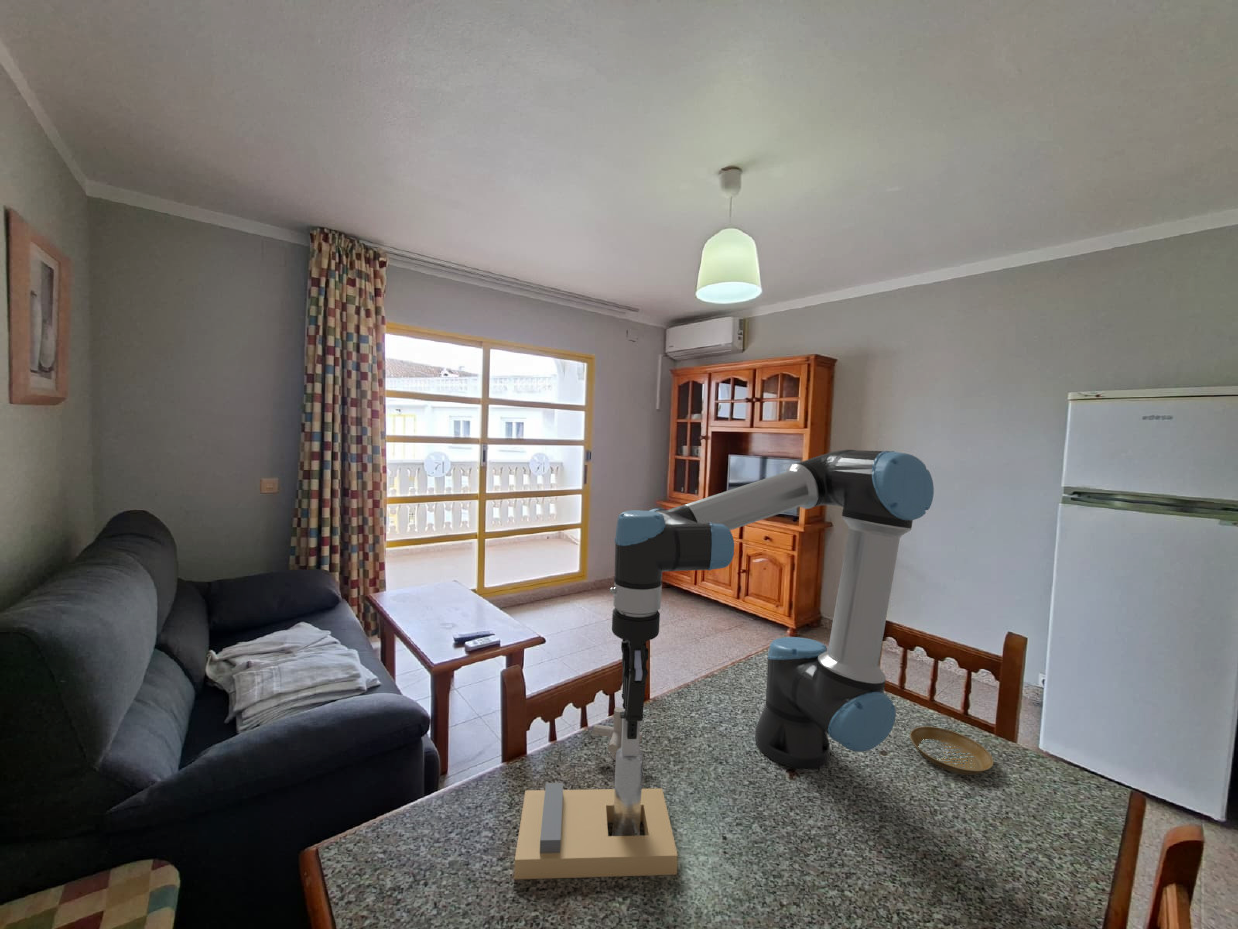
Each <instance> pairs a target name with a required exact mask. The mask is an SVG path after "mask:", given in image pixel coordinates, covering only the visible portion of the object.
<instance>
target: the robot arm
mask: <svg viewBox="0 0 1238 929" xmlns="http://www.w3.org/2000/svg"><path fill="white" fill-rule="evenodd" d="M934 492H935V488H934V481H933V478H932V474H931V472H930V470H928V469H927V466H926V464H925V463H924V462H923V461H922V460H921V459H920V458H918V457H917V456H915V455H913V454H909V453H905V452H899V451H894V450H891V451H889V450H862V449H861V450H860V449H859V450H856V449H842V450H837V451H836V450H835V451H831V452H828V453H825V454H822V455H818V456H815V457H811V458H808V459H806V460H802V461H800V462H797V463H792V464H791V465H790V466H788V467H787V470H786V471H785V472H781V473H778V474H776V475H773V476H769V477H766V478H764V479H760V480H758V481H754V482H751V483H748V484H744V485H741V486H738V487H736V488H731V489H729V490H726V491H723V492H721V493H717V494H716V493H715V494H713V495H710V496H707V497H705V498H701V499H698V500H695V501H691V502H690V503H687V504H683V505H680V506H676V507H672V508H669V509H666V508H652V509H650V510H641V509H639V510H635V509H634V510H633V509H632V510H626V511H623V512H621V513H620V514H619V515H618V517H617V521H616V529H615V538H614V579H613V580H614V583H613V586H614V587H610V589H609V594H611V595H613V599H612V600H613V603H612V605H613V607H614V608H613V609H612V617H611V632H612V633H613V635H614V636H616V637H617V638H619V639H620V640H622V641H621V643H620V645H621V646H620V647H621V648H620V649H621V654H622V655H621V656H622V659H621V664H622V665H621V666H622V692H621V699H622V700H623V703H622V707H623V712H620V719H622V740H621V753H622V756H639V749H640V742H639V738H640V732H641V722H642V721H643V719H644V707H645V706H644V703H645V694H646V684H647V683H646V682H647V678H648V675H649V671H648V668H647V663H648V662H647V661H649V648H648V647H647V642H648V641H651V640H654V639H655V638H657V637H658V635H659V632H660V623H661V622H660V620H661V619H660V618H661V617H660V616H661V613H660V611H659V610H660V609H661V604H662V587H663V586H662V584H663V583H662V582H663V580H662V579H663V572H679V571H680V572H683V571H684V572H686V571H687V572H688V571H690V572H691V571H709V572H710V571H712V570H713V571H714V570H719V569H724V568H727V567H728V566H730V564H731V563H732V561H733V559H734V555H735V540H734V537H733V534H732V532H731V531H733V530H735V529H738V528H741V527H745V526H747V525H750V524H753V523H755V522H759V521H762V520H765V519H768V518H771V517H774V516H777V515H779V514H782V513H785V512H787V511H790V510H793V509H796V508H802V509H804V510H805V509H806V510H808V509H813V508H815V507H818V506H838V507H842V512H841V519H842V520H843V522H845V523H846V525H847V528H848V529H847V530H848V531H847V536H846V542H845V546H844V547H845V548H844V552H843V559H842V567H841V571H840V576H839V584H838V589H837V596H836V600H835V601H836V602H835V606H834V607H835V608H834V612H833V618H832V625H831V629H830V630H831V631H830V637H829V643H828V648H827V645H825V644H824V643H822V641H821V642H820V641H817V640H815V639H810V638H806V637H799V636H786V637H785V636H784V637H779V638H776V639H774V640H772V641H771V643H770V644H769V649H768V654H767V670H766V671H767V672H766V673H767V674H766V690H765V691H766V692H765V706H763V710H762V712H761V715H760V717H759V719H758V721H757V723H756V726H755V727H756V728H755V734H754V740H755V744H756V746H757V748H758V749H759V751H760V752H761V753H762V754H764V755H765V756H766V757H767V758H768V759H770V760H772V761H774V762H775V763H778V764H779V765H782V766H786V767H788V768H793V769H797V770H816V769H819V768H821V767H824V766H825V765H827V763H828V762H829V760H830V753H831V752H830V751H831V744H830V741H829V737H830V739H832V740H833V741H835V742H837V743H839V744H840V745H842V746H843V747H845V748H846V749H848V750H850V751H852V752H855V753H856V752H859V753H861V752H862V753H863V752H867V751H871V750H873V749H874V748H877V747H878V746H879V745H880V744H881V743H883V742H884V741H885V740H886V739H887V738H888V736H889V735H890V734H891V732H892V730H893V728H894V725H895V722H896V717H897V716H896V715H897V712H896V706H895V705H894V703H893V701H892V700H891V698H890V697H889V696H888V694H886V693H884V691H885V686H886V680H887V678H886V677H887V676H886V674H885V673H884V671H883V670H882V669H881V668H880V666H879V663H880V657H881V650H882V645H883V639H884V638H883V637H884V633H885V627H886V621H887V617H888V616H887V615H888V610H889V604H890V603H889V602H890V597H891V592H892V588H893V587H892V586H893V581H894V574H895V568H896V562H897V556H898V551H899V545H900V539H901V537H902V536H903V535H905V534H907V533H908V532H910V531H912V527H913V522H914V521H915V520H917V519H920V518H922V517H923V516H925V514H926V511H929V510H930V508H931V506H932V504H933V501H934V500H933V499H934Z"/></svg>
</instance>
